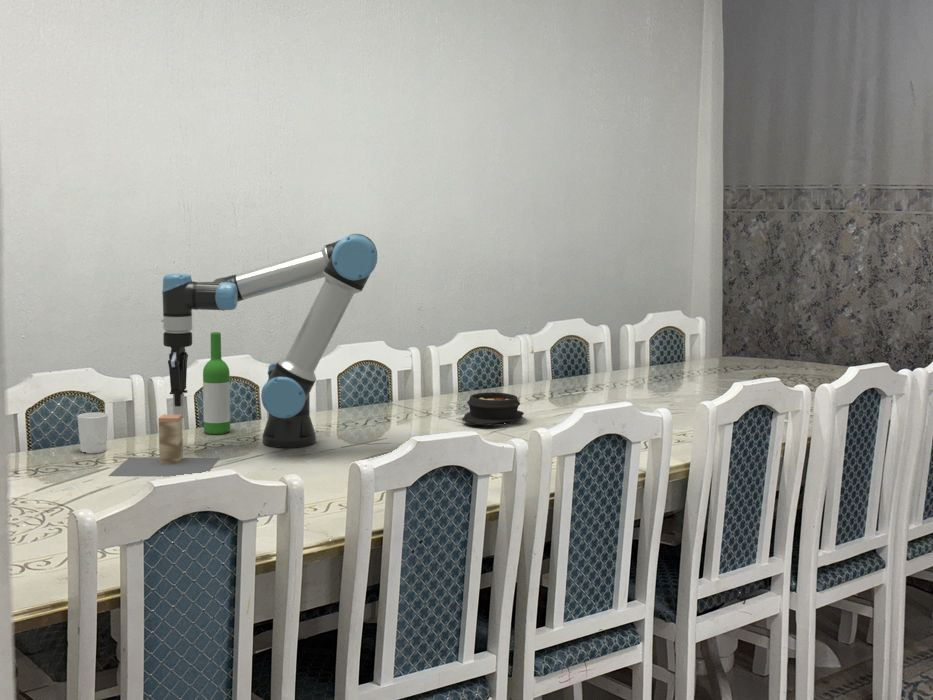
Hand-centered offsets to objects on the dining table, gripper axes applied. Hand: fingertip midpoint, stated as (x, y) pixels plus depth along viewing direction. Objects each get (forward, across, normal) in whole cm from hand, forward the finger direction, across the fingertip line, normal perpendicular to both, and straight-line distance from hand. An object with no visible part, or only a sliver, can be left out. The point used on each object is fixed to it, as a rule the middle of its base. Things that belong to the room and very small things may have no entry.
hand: (179, 417), depth 295 cm
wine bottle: (+10, -27, +5) cm, 30 cm away
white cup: (+10, -2, -24) cm, 26 cm away
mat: (+10, +17, 0) cm, 20 cm away
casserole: (+10, -47, +89) cm, 101 cm away
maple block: (+10, +11, 0) cm, 14 cm away
